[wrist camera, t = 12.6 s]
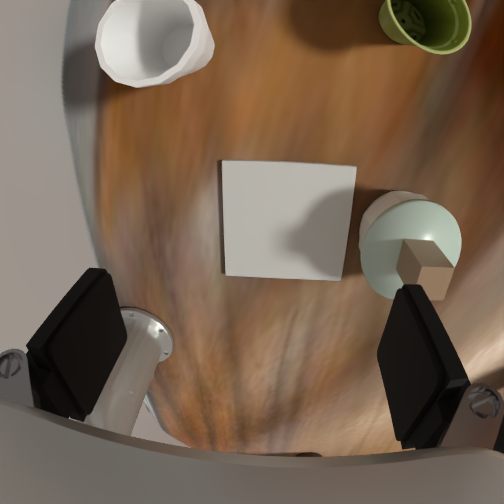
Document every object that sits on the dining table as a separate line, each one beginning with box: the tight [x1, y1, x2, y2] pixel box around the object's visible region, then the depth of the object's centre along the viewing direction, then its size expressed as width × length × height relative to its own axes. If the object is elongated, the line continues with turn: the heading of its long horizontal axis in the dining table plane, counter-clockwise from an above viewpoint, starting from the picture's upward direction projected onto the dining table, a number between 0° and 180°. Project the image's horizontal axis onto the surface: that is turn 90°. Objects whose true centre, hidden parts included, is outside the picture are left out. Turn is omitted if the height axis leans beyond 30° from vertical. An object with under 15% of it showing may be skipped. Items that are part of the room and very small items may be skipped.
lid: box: [360, 199, 461, 300], centre depth 32 cm, size 13×13×7 cm
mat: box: [222, 160, 357, 281], centre depth 41 cm, size 16×16×1 cm
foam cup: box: [95, 0, 215, 88], centre depth 26 cm, size 10×9×13 cm
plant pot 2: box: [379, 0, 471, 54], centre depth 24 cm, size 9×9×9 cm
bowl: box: [358, 190, 428, 251], centre depth 38 cm, size 11×11×6 cm
